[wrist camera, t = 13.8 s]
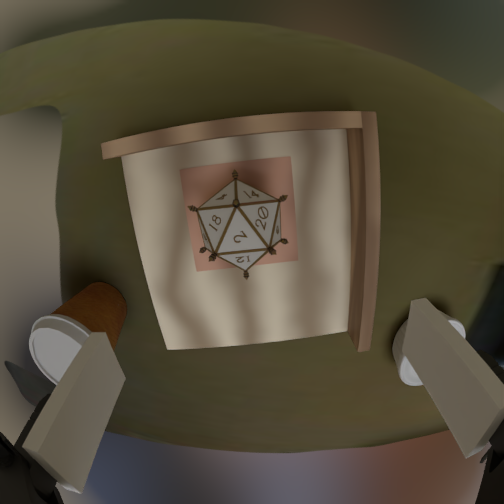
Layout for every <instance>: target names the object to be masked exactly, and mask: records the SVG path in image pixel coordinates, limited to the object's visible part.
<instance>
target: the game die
mask: <svg viewBox="0 0 504 504" xmlns="http://www.w3.org/2000/svg"><path fill="white" fill-rule="evenodd" d="M232 175H233V176H232V177H233V178H234V179H233V180H232V181H231V182H230V183H228V184H227V185H226V186H225V187H223V188H222V189H221V190H220V191H218V192H217V193H216V194H215V195H213V196H212V197H211V198H210V199H208V200H207V201H206V202H205V203H203V204H202V205H201V206H200V207H198V208H196V207H195V206H193V205H192V206H187V207H188V208H189V210H190V211H196V212H197V216H198V221H199V225H200V229H201V234H202V238H203V242H204V246H205V247H202V248H200V251H199V253H204V252H205V251H206V250H208V251H209V252H211V253H212V254H211V255H210V256H209V262H210V261H215V259H216V257H218V258H220V259H222V260H224V261H226V262H228V263H230V264H232V265H234V266H235V267H237V268H239V269H241V270H243V271H244V273H243V274H244V276H243V277H244V278H245V279H246V280H247V279H248V277H249V273H248V270H249V269H250V268H251V267H252V266H253V265H254V264H256V263H257V262H258V261H259V260H260V259H261V258H262V257H264V256H265V255H266V254H267V253H268V252H269V254H271V255H277V254H276V250H275V249H274V247H275V246H276V245H277V244H278V243H279V242H281V243H284V244H285V245H286V244H288V243H289V242H288V241H287V239H285V238H281V210H280V202H284V201H285V200H286V199H287V197H288V195H282V196H280V198H279V199H277V198H275V197H273V196H271V195H269V194H267V193H265V192H263V191H261V190H259V189H257V188H255V187H253V186H251V185H249V184H247V183H245V182H243V181H240V180H238V179H237V178H238V173H237V171H236V170H235V169H234V171H233V173H232Z"/></svg>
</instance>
